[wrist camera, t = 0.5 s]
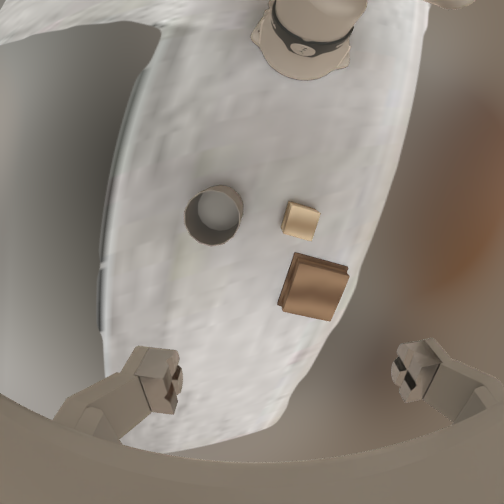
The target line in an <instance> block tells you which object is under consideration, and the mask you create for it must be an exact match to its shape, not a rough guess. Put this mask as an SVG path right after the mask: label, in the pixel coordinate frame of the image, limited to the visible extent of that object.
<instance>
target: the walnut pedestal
mask: <svg viewBox="0 0 504 504" xmlns="http://www.w3.org/2000/svg"><path fill="white" fill-rule="evenodd" d="M347 270H348V267H347V266H343V265H340V264H336V263H332V262H329V261H325V260H322V259H318V258H314V257H310V256H307V255H303V254H299V253H296V252H295V253H294V256H293V259H292V262H291V265H290V268H289V271H288V274H287V277H286V280H285V283H284V285H283V288H282V291H281V294H280V297H279V300H278V303H277V305H279V306H282V310H283V312H288V313H292V314H297V315H301V316H306V317H311V318H316V319H320V320H325V321H331V319H332V317H333V314H334V312H335V310H336V308H337V305H338V303H339V301H340V298H341V296H342V294H343V291H344V289H345V287H346V284H347V282H348V279H349V277H350V276H349V275H348V274H347Z"/></svg>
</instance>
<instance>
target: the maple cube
mask: <svg viewBox="0 0 504 504" xmlns="http://www.w3.org/2000/svg"><path fill="white" fill-rule="evenodd" d="M320 214H321V213H319V212H318V211H317V210H316V209H314V208H311V207H307V206H304V205H301V204H297V203H294V202H290V201H288V205H287V208H286V212H285V215H284V218H283V222H282V225H281V229H282V231H283V234H287V235H290V236H294V237H297V238H301V239H305V240H308V241H312V238H313V235H314V232H315V229H316V226H317V223H318V220H319V217H320Z"/></svg>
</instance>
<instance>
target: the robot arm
mask: <svg viewBox="0 0 504 504" xmlns="http://www.w3.org/2000/svg"><path fill="white" fill-rule="evenodd" d="M423 1H426V2H428V3H431V4H434V5H436V6H439V7H442V8H444V9H448V10H453V9H460V8H463V7H466V6H468V5H470V4H472V3H473V2H474V1H475V0H423ZM367 2H368V0H270V1H269V4H268V6H269V7H270V8H269V9H268V10H265V12H264V16H263V17H262V19H261V20H260V22H259V23H258V25H257V26H256V27H255V29H254V30H253V32H252V34H251V40H252V41H253V42H254V43H255V44H256V45H257V46H258V47H260V49H261V51H262V53H263V55H264V57H265V59H266V61H267V62H268V63H269V65H270V66H271V67H272V68H274V69H275V70H276V71H278V72H279V73H281V74H283V75H285V76H287V77H290V78H293V79H298V80H313V79H318V78H321V77H323V76H325V75H327V74H328V73H330V72H331V71H333V70H335V69H342V68H346V67H347V66H348V65H349V50H350V48H351V46H350V45H349V37H350V35H351V33H352V31H353V28H354V24H355V23H356V22H357V20H358V19H359V18H360V16H361V15H362V14H363V13H364V11H365V9H366V7H367ZM259 31H260V33H258V32H259ZM397 354H398V357H397V359H395V360H394V362H393V365H392V368H391V369H392V370H391V371H392V372H391V375H392V379H393V381H394V383H395V384H396V385H398V386H399V387H400V389H399V393H400V395H401V396H402V398H403V400H404V402H405V403H407V402H412V401H416V400H420V399H423V401H425V402H426V403H427V404H429V405H430V406H432V407H433V408H434V409H436V410H437V411H438V412H440V413H441V414H443V415H444V416H445V417H447V418H448V419H449V420H451V421H452V422H454V423H453V424H452V425H451V426H448V427H446V428H443V429H441V430H438V431H436V432H433V433H430V434H427V435H425V436H421V437H418V438H415V439H412V440H409V441H405V442H402V443H398V444H395V445H391V446H387V447H383V448H379V449H375V450H370V451H366V452H361V453H356V454H350V455H344V456H338V457H332V458H324V459H315V460H305V461H291V462H265V463H263V462H262V463H261V462H257V463H255V462H226V461H212V460H202V459H193V458H185V457H178V456H172V455H166V454H161V453H156V452H151V451H146V450H141V449H137V448H133V447H129V446H125V445H123V444H122V443H121V441H120V440H119V439H120V438H122V437H123V436H124V435H125V434H127V433H128V432H129V431H130V430H131V429H133V428H134V427H135V426H136V425H137V424H139V423H140V422H141V421H142V420H143V419H145V418H146V417H147V416H148V415H149V414H151V412H157V413H164V414H173V415H174V412H175V409H176V406H177V403H178V400H177V396H176V395H178V394H179V393H181V389H182V384H183V373H182V368H181V367H180V366H179V365H178V363H179V360H180V358H179V354H178V351H176V350H170V349H162V348H154V347H145V346H137V347H135V349H134V350H133V352H132V354H131V355H130V357H129V359H128V360H127V362H126V364H125V366H124V367H123V369H122V371H121V372H120V373H118V372H116V373H114V374H113V375H111V376H109V377H107V378H105V379H103V380H101V381H99V382H97V383H95V384H93V385H91V386H89V387H87V388H86V389H84V390H82V391H80V392H78V393H76V394H74V395H72V396H70V397H68V398H67V399H66V400H65V402H64V403H63V405H62V406H61V408H60V409H59V411H58V413H57V414H56V415H55V417H54V418H53V420H51V419H48V418H46V417H44V416H42V415H40V414H38V413H35V412H33V411H31V410H29V409H27V408H26V407H24V406H22V405H20V404H18V403H16V402H14V401H13V400H11V399H9V398H7V397H6V396H4V395H2V394H1V393H0V504H504V386H503V384H502V383H501V382H500V381H499V379H498V378H496V377H494V376H491V375H489V374H487V373H484V372H482V371H480V370H478V369H475V368H473V367H471V366H469V365H466V364H464V363H462V362H460V361H457V360H452V359H451V357H450V356H449V355H448V354H447V353H446V352H445V350H444V349H443V348H442V347H441V346H440V344H439V343H438V342H437V341H436V340H435V339H434V338H429V339H424V340H420V341H414V342H408V343H402V344H400V346H399V347H398V350H397Z"/></svg>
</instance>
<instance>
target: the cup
mask: <svg viewBox="0 0 504 504" xmlns="http://www.w3.org/2000/svg"><path fill="white" fill-rule="evenodd" d="M242 215H243V202H242V200H241V198H240V195H239V194H238V193H237V192H236V191H235V190H233V189H232V188H231V187H227V186H223V185H218V186H213V187H210V188H208V189H205V190H203V191H201V192H199V193H198V194H197V195H195V196H194V197H193V198H192V199H190V200H189V202H188V204H187V207H186V209H185V211H184V224H185V227H186V229H187V231H188V233H189V235H190V236H191V237H192V238H194V239H195V240H196V241H197V242H199V243H201V244H204V245H208V246H216V245H222V244H225V243H226V242H227V241H229V240H230V239H231V238H233V237H234V235H235V233H236V232H237V230H238V228H239V226H240V222H241V219H242Z"/></svg>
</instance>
